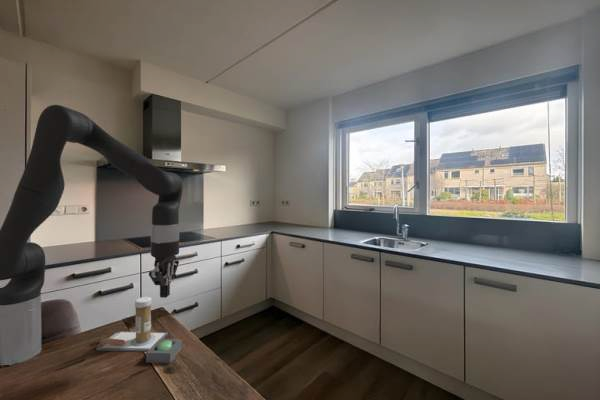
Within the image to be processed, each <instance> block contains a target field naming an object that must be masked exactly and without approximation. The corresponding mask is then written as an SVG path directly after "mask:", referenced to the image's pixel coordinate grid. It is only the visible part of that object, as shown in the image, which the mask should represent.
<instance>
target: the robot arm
mask: <svg viewBox="0 0 600 400" xmlns="http://www.w3.org/2000/svg"><path fill="white" fill-rule="evenodd" d="M32 140H33V141H32V145H31V149H30V153H29V156H28V158H27V162H26V165H25V168H24V171H23V172H22V175H21V177H20V180H19V182H18V184H17V187H16V189H15V191H14V195H13V199H12V201H11V205H10V207H9V209H8V211H7V214H6V216H5V219H4V221H3V222H2V225H1V226H0V281H6V280H7V281H8V280H9V281H8V282H7V283H6V284H5V285H4V286H3V287H2V288H0V365H1V366H0V367H4V366H3V365H9V366H13V365H17V364H20V363H23V362H26V361H28V360H30V359H32V358H34V357H35V356H37V355H39V354H40V353H41V351H42V350H43V349H42V288H43V287H44V284H45V276H46V275H45V272H46V255H45V251H44V249H43V248H42V246H41V245H40V244H38V243H36V242H29V239H30V238H31V236H32V234H33V233H34V232H36V230H37V229H38V228H39V227H40V226H41V225H42V224H43V223H44V222H45V221H46V220H47V219H48V218H49V217H50V216H51V215H52V214H53V213H55V211H56V210H57V208H58V206H59V205H60V201H61V199H62V196H63V193H64V191H65V187H66V184H65V179H64V174H63V169H62V166H61V157H62V154H63V151H64V148H65V146H66V144H67V142H68V143H74V144H80V145H81V146H82V145H83V146H85V147H87V148H89V149H92V150H94V151H96V152H97V153H99V154H100V155H101V156H102V157H104V158H105V160H106V161H107V162H108V163H110V164H111V166H113V167H114V168H116V169H118V170H119V171H120V172H122V173H124V174H125V175H127V176H129V177H130V178H132V179H133V180H136V181H137V183H139V185H141V186H142V187H143V188H145V189H146V190H147V191H148V192H149V193H150V192H151V193H153V195H156V196H158V199H157V203H156V204H155V205H154V206H153V207H152V209H151V210H152V211H151V228H150V229H151V231H150V256H151V257H153V258H154V259H155V260H154V263H153V265H154V266H153V267H154V269H153V270H151V271H149V272H148V275H149V277H150V280H151V281H152V283H153V284H154V285H155V286H159V297H160V298H162V299H163V298H168V297H169V296H170V295H171V294H170V288H171V287H170V286H171V283H172V280H174V279H175V276H176V273H177V270H178V267H179V263H180V261H179V260H176V256H177V255H179V253H180V226H179V225H180V223H179V217H180V216H179V215H180V213H179V210H180V209H179V208H180V205H181V200H182V196H183V181H182V178H181V177H180V176H179V175H178V174H176V172H175V173H174V172H169V171H165V170H163V169H161V168H159V167H157V165H154V163H153V161H151V160H150V159H149V158H148V157H146V156H144V155H142V154H141V153H139V152H138V151H136V150H134V149H133V148H131V147H129V146H128V145H126V144H124V143H122V142H121V141H120V140H118V139H116V138H114V137H113V136H112V135H110V133H108V132H107V131H105V130H104V129H103V128H102V127H101V126H99V125H98V124H97V123H96V122H94V120H92V119H91V118H90V117H89V116H87V115H86V114H84V113H82V112H81V111H77V110H76V109H75V110H74V109H72V108H69V107H67V106H63V105H59V104H51V105H49V106H47V107H45V108H44V109H43V110H42V112H41V113H40V115H39V117H38V119H37V123H36V128H35V132H34V136H33V139H32Z"/></svg>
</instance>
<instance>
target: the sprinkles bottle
mask: <svg viewBox="0 0 600 400" xmlns="http://www.w3.org/2000/svg"><path fill="white" fill-rule="evenodd" d="M134 308H135V320H134V321H135V332H136V340H135V341H136V342H137V343H144V342H146V341H148V340H150V339H151V332H152V312H151V311H152V310H151V309H152V297H150V296H142V297H139V298H137V299H135V302H134Z"/></svg>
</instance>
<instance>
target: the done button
mask: <svg viewBox="0 0 600 400" xmlns="http://www.w3.org/2000/svg"><path fill="white" fill-rule="evenodd" d="M171 347H172V341H163V342H160V343H159V344H158V345H157V350H160V351H168V350H169V349H170V348H171Z"/></svg>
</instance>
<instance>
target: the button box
mask: <svg viewBox="0 0 600 400" xmlns="http://www.w3.org/2000/svg"><path fill="white" fill-rule="evenodd" d="M163 341H172V347H171V348H170V349H169V350H168V351H160V350H157V345H158V344H159V343H160V342H163ZM182 341H183V340H182V339H180V338H178V339H177V338H175V339H174V338H173V339H172V338H164V339H159V340H158V341H157V342H156V343H155V344H154V345H153V346H152V347H151V348H150V349H149V350H148V351H147V352H146V351H145V363H147V364H149V363H153V364H154V363H157V364H171V363H172V362H173V361H174V359H176V356H178V354H179V353H180V352H181V350H182V348H183V347H182V345H183V343H182Z"/></svg>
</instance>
